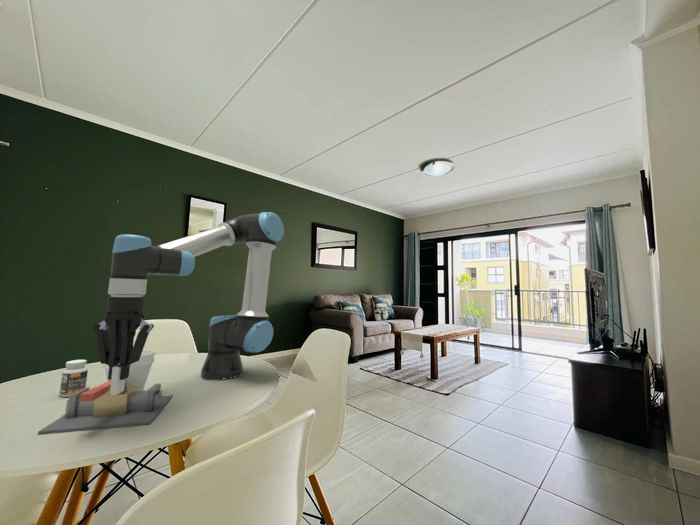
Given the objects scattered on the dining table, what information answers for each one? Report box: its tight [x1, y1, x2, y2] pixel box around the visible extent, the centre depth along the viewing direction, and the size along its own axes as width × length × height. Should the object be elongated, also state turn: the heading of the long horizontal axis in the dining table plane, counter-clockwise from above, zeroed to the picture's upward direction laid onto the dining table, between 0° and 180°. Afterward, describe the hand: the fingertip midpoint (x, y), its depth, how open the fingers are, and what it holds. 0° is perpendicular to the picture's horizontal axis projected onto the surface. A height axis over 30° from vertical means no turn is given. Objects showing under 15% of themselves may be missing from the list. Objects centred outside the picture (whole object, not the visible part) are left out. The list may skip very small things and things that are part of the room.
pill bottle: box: [59, 359, 89, 398], centre depth 88 cm, size 6×6×10 cm
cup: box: [102, 348, 155, 391], centre depth 85 cm, size 12×12×14 cm
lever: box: [79, 379, 128, 402], centre depth 71 cm, size 14×4×3 cm, turn 11°
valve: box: [64, 383, 163, 419], centre depth 76 cm, size 20×7×6 cm, turn 106°
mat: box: [37, 394, 174, 435], centre depth 76 cm, size 22×18×1 cm
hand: (116, 392), depth 69 cm, fingers closed
